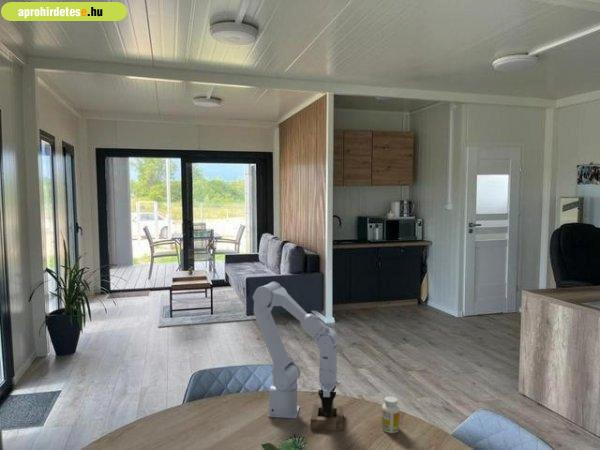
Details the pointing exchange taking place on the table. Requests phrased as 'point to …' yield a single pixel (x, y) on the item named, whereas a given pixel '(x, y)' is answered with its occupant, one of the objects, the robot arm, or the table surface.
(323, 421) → the socket block
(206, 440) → the table surface
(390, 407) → the supplement bottle
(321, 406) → the grey cylinder
